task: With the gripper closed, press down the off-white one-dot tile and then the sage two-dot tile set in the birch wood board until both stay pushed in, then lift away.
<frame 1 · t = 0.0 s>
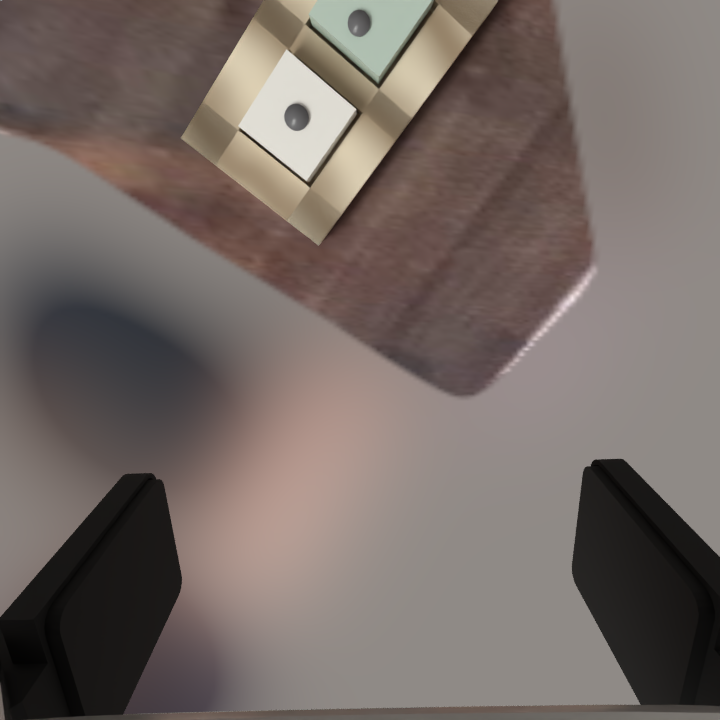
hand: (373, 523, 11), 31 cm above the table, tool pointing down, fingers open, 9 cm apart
one dot tile: (298, 119, 33), point 4 cm above the table, slide at 0.0 cm
two dot tile: (371, 10, 31), point 4 cm above the table, slide at 0.0 cm
tile board: (337, 79, 36), on the table
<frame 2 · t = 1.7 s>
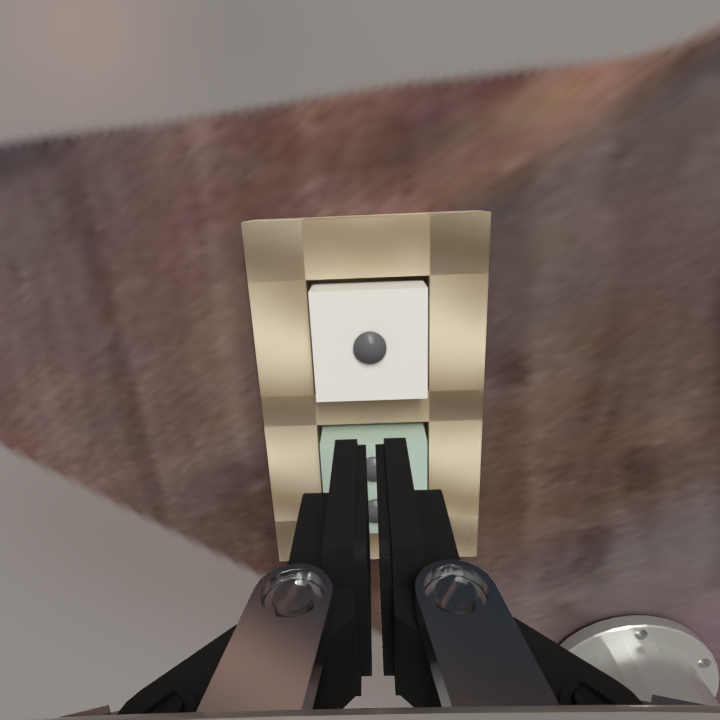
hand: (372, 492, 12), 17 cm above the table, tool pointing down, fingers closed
one dot tile: (369, 341, 25), point 4 cm above the table, slide at 0.0 cm
two dot tile: (374, 479, 27), point 4 cm above the table, slide at 0.0 cm
tile board: (371, 387, 29), on the table
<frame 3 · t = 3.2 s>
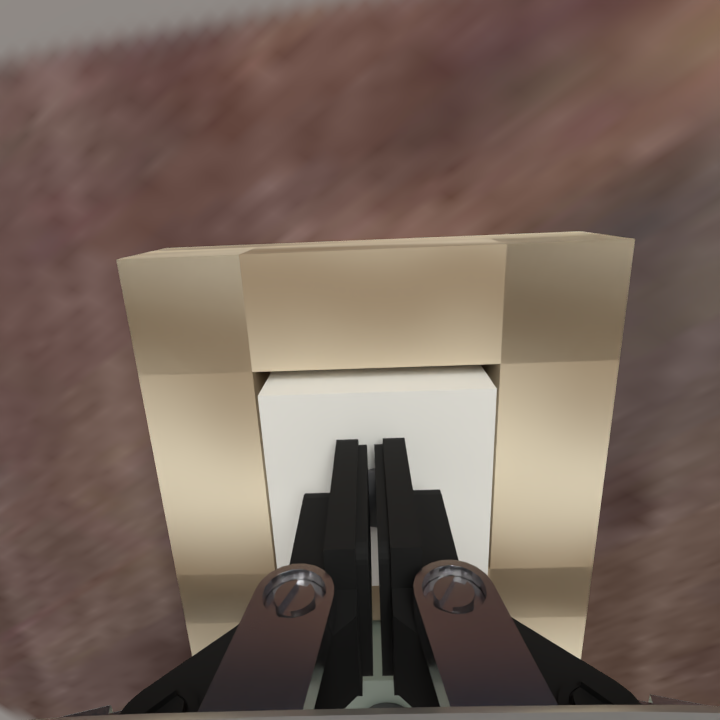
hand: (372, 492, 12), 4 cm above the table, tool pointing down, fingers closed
one dot tile: (378, 474, 13), point 3 cm above the table, slide at 0.8 cm, touching gripper
two dot tile: (386, 718, 15), point 4 cm above the table, slide at 0.0 cm
tile board: (380, 530, 17), on the table
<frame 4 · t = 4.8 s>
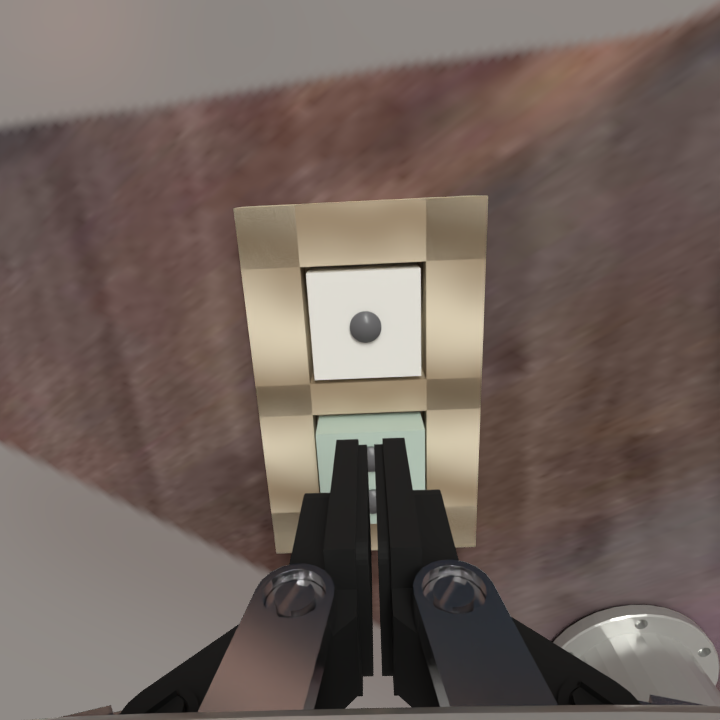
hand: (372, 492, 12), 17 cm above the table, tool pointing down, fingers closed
one dot tile: (365, 321, 26), point 2 cm above the table, slide at 1.5 cm, touching tile board
two dot tile: (371, 469, 27), point 4 cm above the table, slide at 0.0 cm
tile board: (368, 377, 29), on the table
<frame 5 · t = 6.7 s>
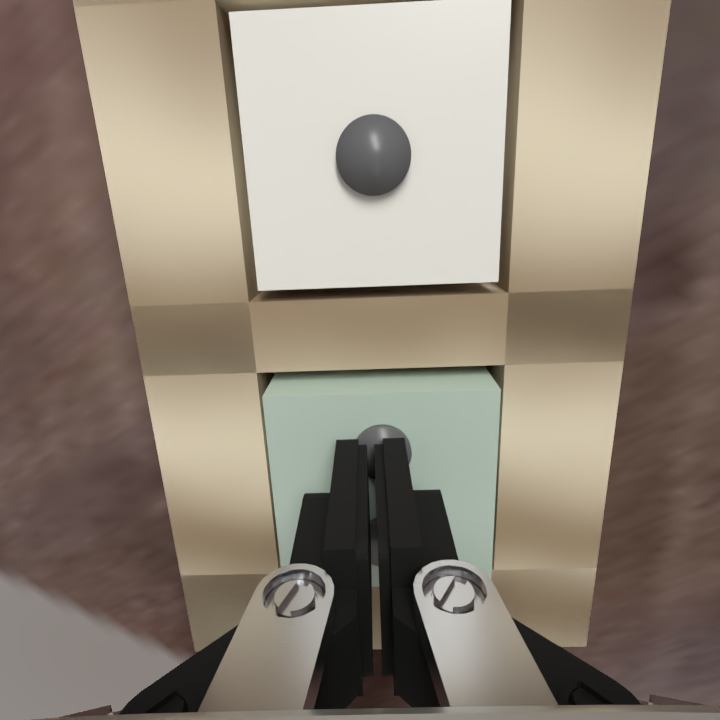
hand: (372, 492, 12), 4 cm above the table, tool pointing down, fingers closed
one dot tile: (373, 160, 11), point 2 cm above the table, slide at 1.5 cm, touching tile board
two dot tile: (382, 475, 13), point 3 cm above the table, slide at 0.8 cm, touching gripper
tile board: (377, 308, 15), on the table
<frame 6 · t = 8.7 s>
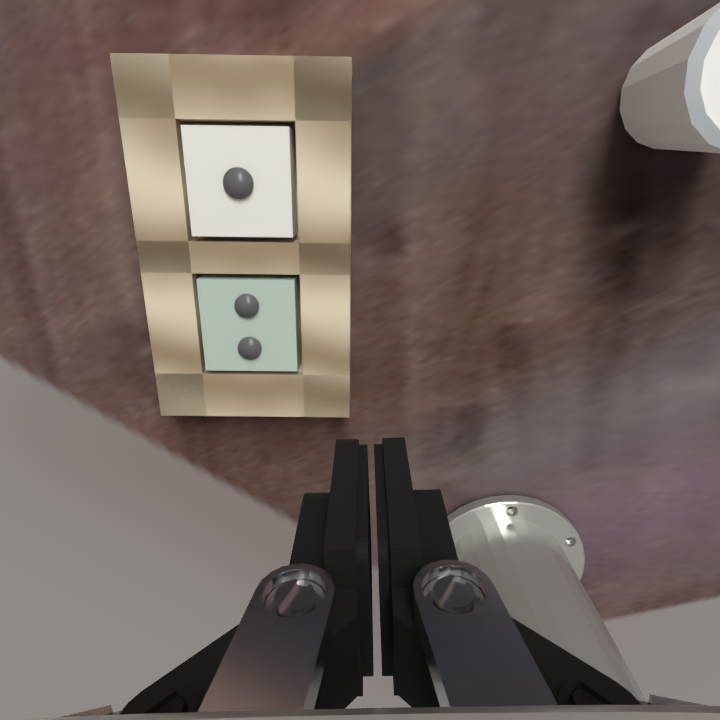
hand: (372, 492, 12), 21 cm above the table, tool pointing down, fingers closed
white cup: (667, 95, 28), on the table
one dot tile: (242, 183, 27), point 2 cm above the table, slide at 1.5 cm, touching tile board
two dot tile: (252, 322, 30), point 2 cm above the table, slide at 1.5 cm, touching tile board
tile board: (255, 251, 31), on the table
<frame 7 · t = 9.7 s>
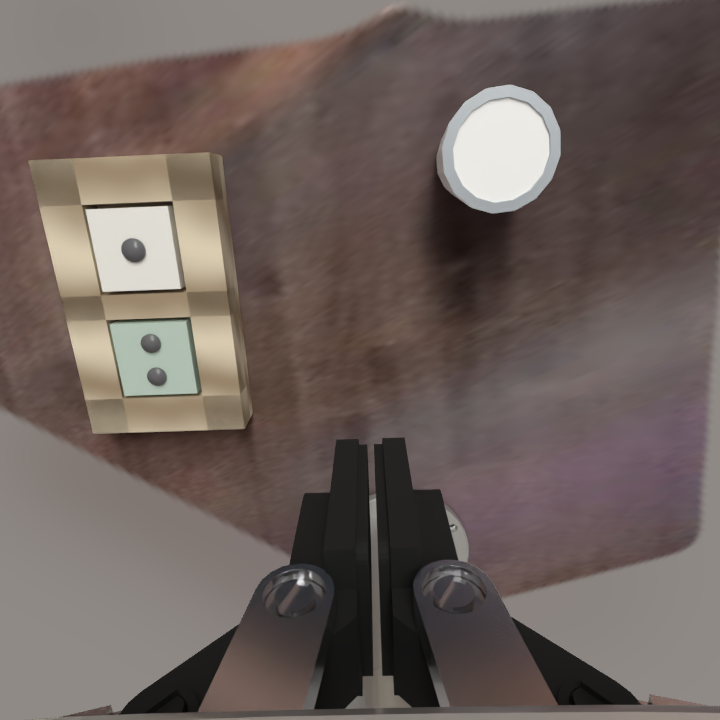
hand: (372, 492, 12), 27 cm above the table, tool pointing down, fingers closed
white cup: (475, 160, 35), on the table
one dot tile: (140, 248, 35), point 2 cm above the table, slide at 1.5 cm, touching tile board
two dot tile: (159, 355, 37), point 2 cm above the table, slide at 1.5 cm, touching tile board
tile board: (162, 298, 38), on the table
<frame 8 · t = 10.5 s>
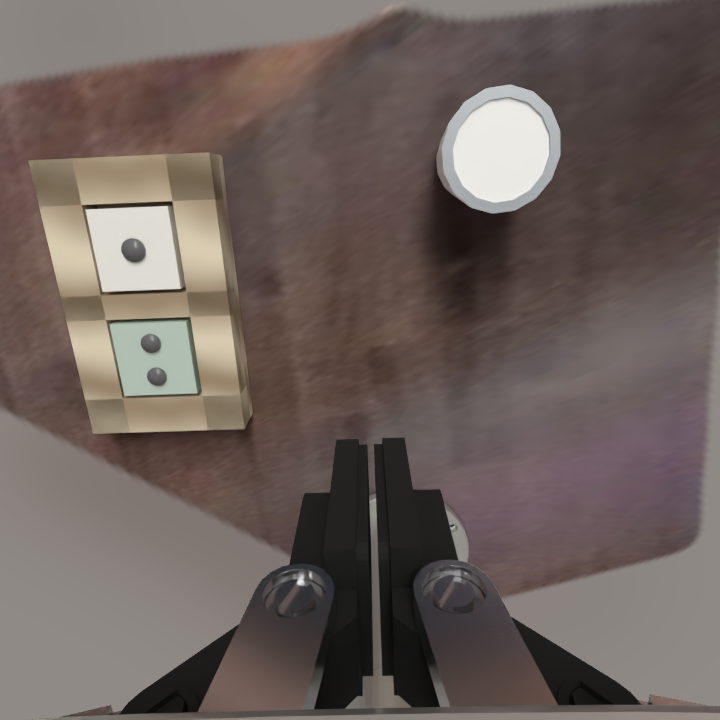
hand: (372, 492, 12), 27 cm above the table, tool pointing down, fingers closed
white cup: (475, 160, 35), on the table
one dot tile: (140, 248, 35), point 2 cm above the table, slide at 1.5 cm, touching tile board
two dot tile: (159, 355, 37), point 2 cm above the table, slide at 1.5 cm, touching tile board
tile board: (162, 298, 38), on the table
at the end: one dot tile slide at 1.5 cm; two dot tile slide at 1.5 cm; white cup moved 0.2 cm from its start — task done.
